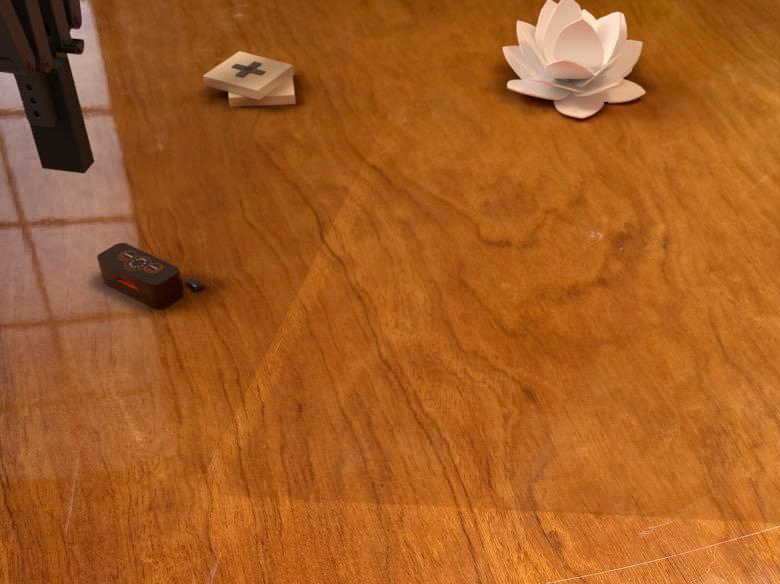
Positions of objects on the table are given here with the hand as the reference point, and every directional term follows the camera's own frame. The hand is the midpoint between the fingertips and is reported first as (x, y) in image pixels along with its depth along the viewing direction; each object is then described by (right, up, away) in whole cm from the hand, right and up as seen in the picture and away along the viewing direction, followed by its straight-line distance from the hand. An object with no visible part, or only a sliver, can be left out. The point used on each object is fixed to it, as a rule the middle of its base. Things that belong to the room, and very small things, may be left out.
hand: (68, 164), depth 72 cm
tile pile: (+2, +18, +39) cm, 43 cm away
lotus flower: (+32, +22, +45) cm, 59 cm away
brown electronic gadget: (0, -5, +17) cm, 18 cm away
